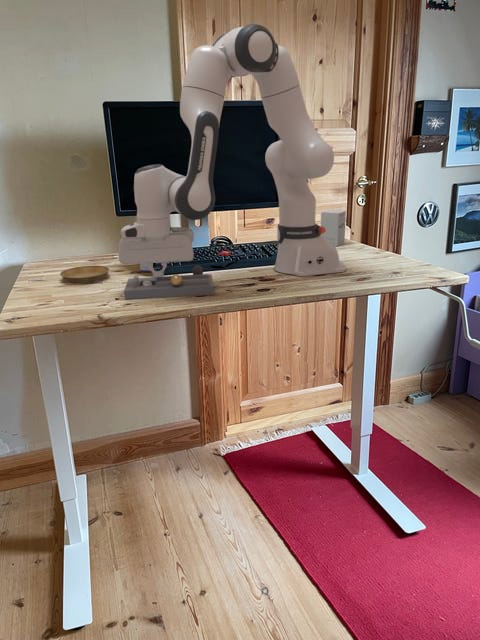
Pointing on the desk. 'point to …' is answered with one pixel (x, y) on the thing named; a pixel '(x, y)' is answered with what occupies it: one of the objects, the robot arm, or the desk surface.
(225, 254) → the race car
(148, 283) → the steel ball
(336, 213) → the supplement box
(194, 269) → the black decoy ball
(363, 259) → the desk surface
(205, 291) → the board
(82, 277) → the plant saucer
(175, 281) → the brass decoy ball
